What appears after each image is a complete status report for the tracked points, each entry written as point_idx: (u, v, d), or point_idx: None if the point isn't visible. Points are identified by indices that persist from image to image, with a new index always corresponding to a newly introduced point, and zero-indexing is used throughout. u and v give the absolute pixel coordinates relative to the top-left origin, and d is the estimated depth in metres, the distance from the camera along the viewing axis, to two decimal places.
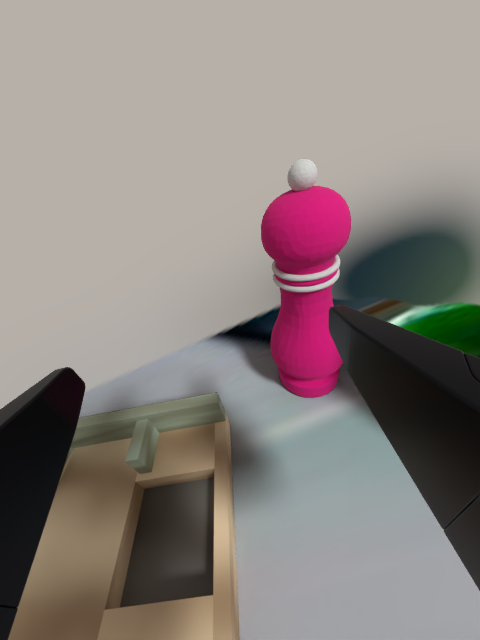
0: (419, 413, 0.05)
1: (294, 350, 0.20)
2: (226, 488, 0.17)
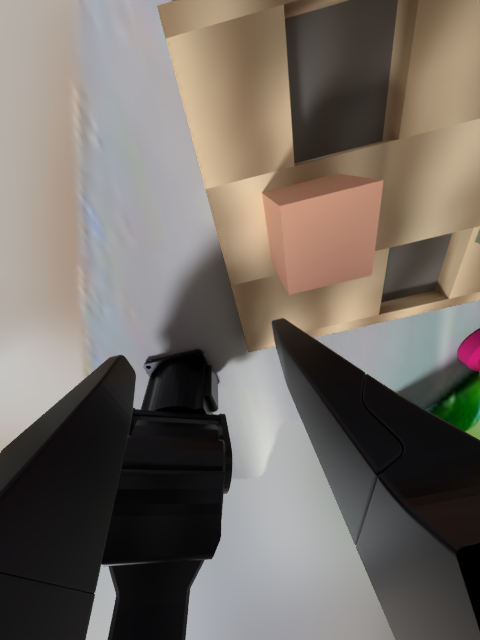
0: (324, 432, 0.05)
1: None
2: (430, 310, 0.23)
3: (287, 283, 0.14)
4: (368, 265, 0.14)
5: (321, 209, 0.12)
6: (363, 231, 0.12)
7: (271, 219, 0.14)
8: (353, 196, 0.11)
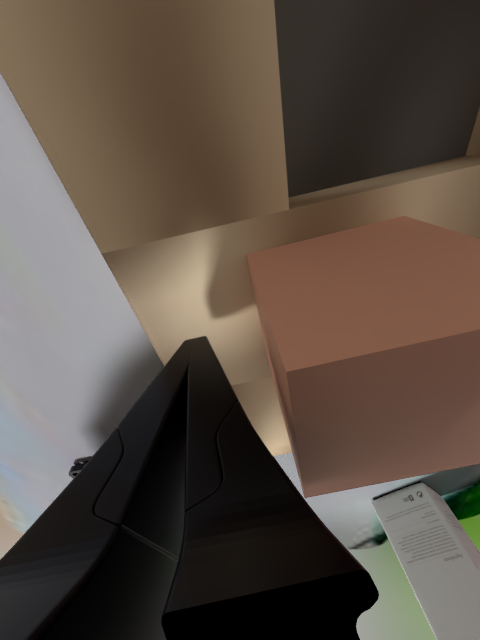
0: None
1: None
2: None
3: (301, 480, 0.06)
4: None
5: (417, 370, 0.04)
6: None
7: (264, 327, 0.06)
8: None
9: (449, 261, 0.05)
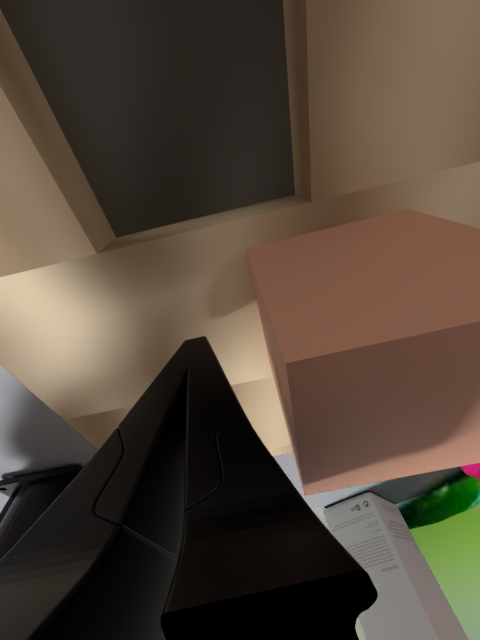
0: None
1: None
2: None
3: (301, 477, 0.06)
4: None
5: (422, 363, 0.04)
6: None
7: (264, 321, 0.06)
8: None
9: (454, 252, 0.05)
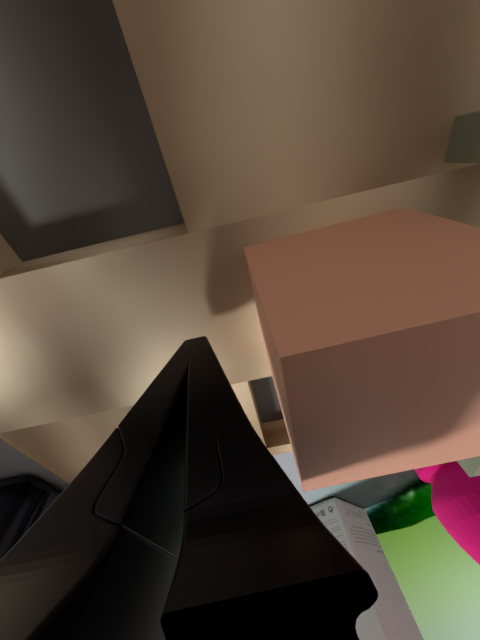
0: None
1: None
2: None
3: (300, 473, 0.06)
4: None
5: (414, 357, 0.04)
6: None
7: (261, 319, 0.06)
8: None
9: (446, 249, 0.05)
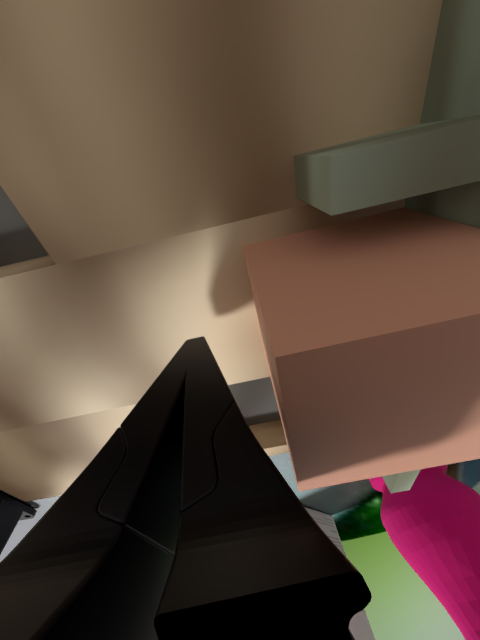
0: None
1: (427, 558, 0.15)
2: (281, 452, 0.15)
3: (295, 473, 0.06)
4: None
5: (411, 358, 0.04)
6: None
7: (259, 318, 0.06)
8: None
9: (446, 250, 0.05)
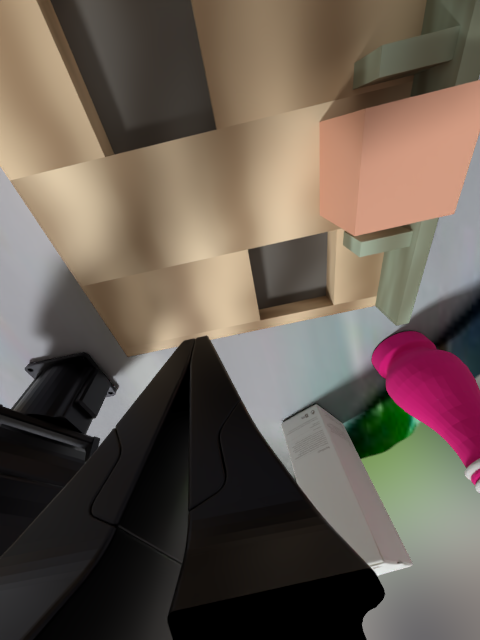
0: None
1: (420, 392, 0.21)
2: (316, 317, 0.21)
3: (354, 221, 0.12)
4: (452, 199, 0.11)
5: (414, 116, 0.10)
6: (457, 150, 0.10)
7: (336, 146, 0.12)
8: (456, 98, 0.09)
9: None
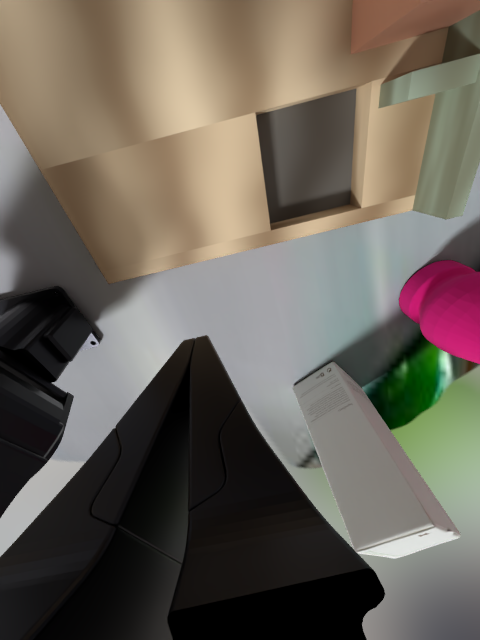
0: None
1: (470, 318, 0.17)
2: (340, 226, 0.17)
3: None
4: None
5: None
6: None
7: None
8: None
9: None
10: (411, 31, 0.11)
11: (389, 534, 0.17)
